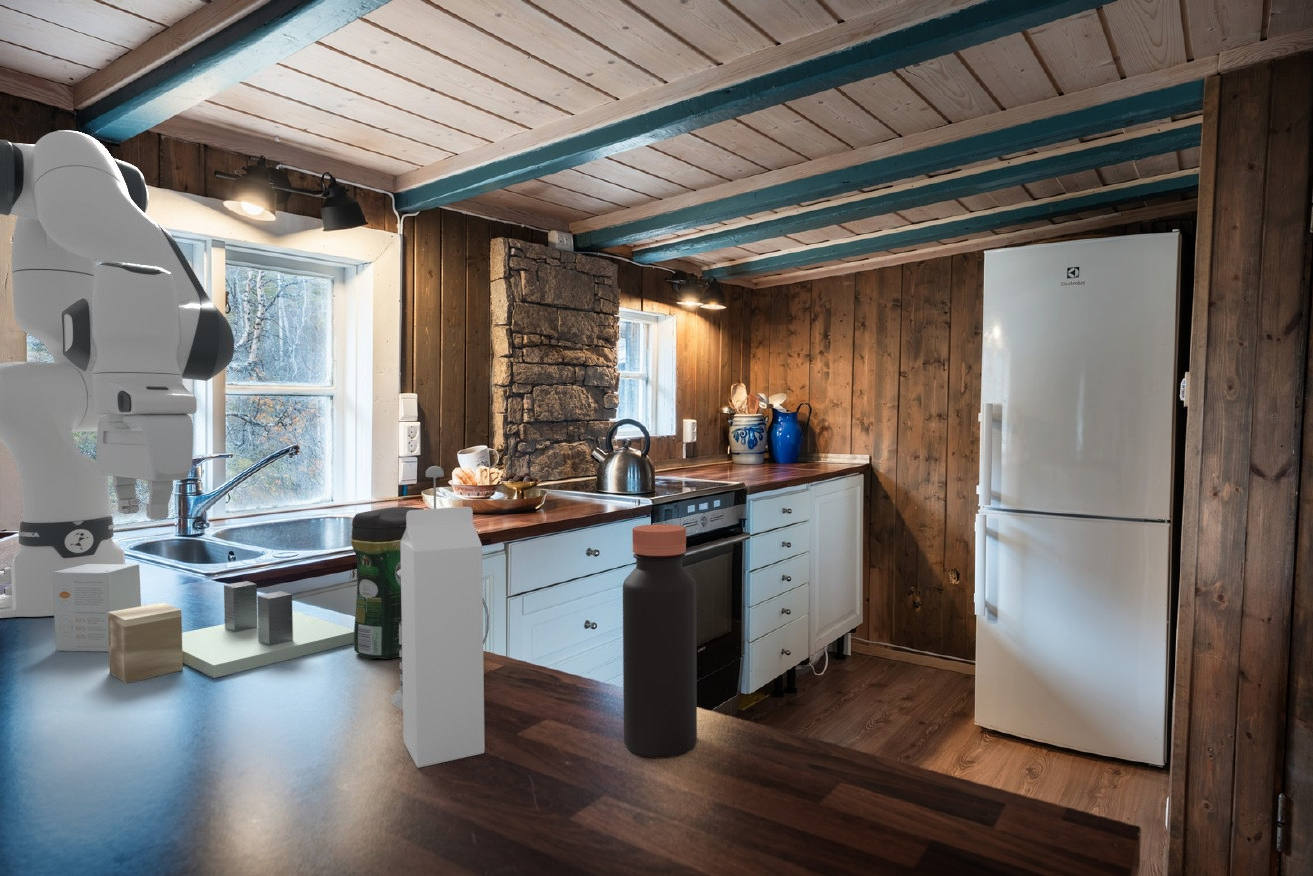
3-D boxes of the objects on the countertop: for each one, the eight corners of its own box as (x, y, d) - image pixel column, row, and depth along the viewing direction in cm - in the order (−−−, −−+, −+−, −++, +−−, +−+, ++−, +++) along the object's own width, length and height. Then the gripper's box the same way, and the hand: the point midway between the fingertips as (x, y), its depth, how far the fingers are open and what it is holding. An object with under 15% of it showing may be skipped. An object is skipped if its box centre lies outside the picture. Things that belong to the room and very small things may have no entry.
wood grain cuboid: (109, 672, 92) (107, 612, 91) (164, 660, 96) (162, 602, 96) (126, 683, 88) (125, 620, 88) (182, 670, 93) (181, 609, 92)
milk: (485, 754, 69) (483, 510, 68) (416, 769, 66) (413, 514, 66) (466, 729, 75) (464, 502, 74) (401, 743, 72) (399, 506, 71)
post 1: (225, 639, 105) (223, 584, 105) (247, 634, 107) (246, 581, 107) (234, 643, 103) (233, 587, 103) (257, 638, 106) (256, 584, 105)
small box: (143, 640, 105) (141, 563, 105) (110, 653, 100) (108, 572, 99) (89, 639, 106) (87, 562, 106) (53, 651, 100) (51, 571, 100)
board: (156, 649, 101) (155, 638, 101) (292, 620, 115) (292, 610, 115) (214, 678, 90) (213, 665, 90) (357, 642, 104) (357, 631, 104)
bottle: (645, 723, 76) (644, 521, 75) (708, 736, 73) (708, 525, 72) (609, 750, 70) (608, 530, 69) (677, 766, 67) (676, 535, 66)
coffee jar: (403, 636, 106) (401, 502, 106) (443, 645, 102) (441, 505, 101) (341, 655, 98) (339, 509, 98) (382, 665, 94) (380, 513, 93)
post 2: (258, 653, 99) (257, 595, 99) (282, 647, 101) (280, 591, 101) (269, 658, 97) (268, 598, 97) (293, 652, 99) (292, 594, 99)
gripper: (79, 401, 95) (83, 512, 96) (139, 397, 82) (143, 526, 83) (138, 401, 100) (141, 507, 100) (203, 397, 87) (206, 519, 88)
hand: (142, 516), depth 91 cm, fingers open, 8 cm apart
